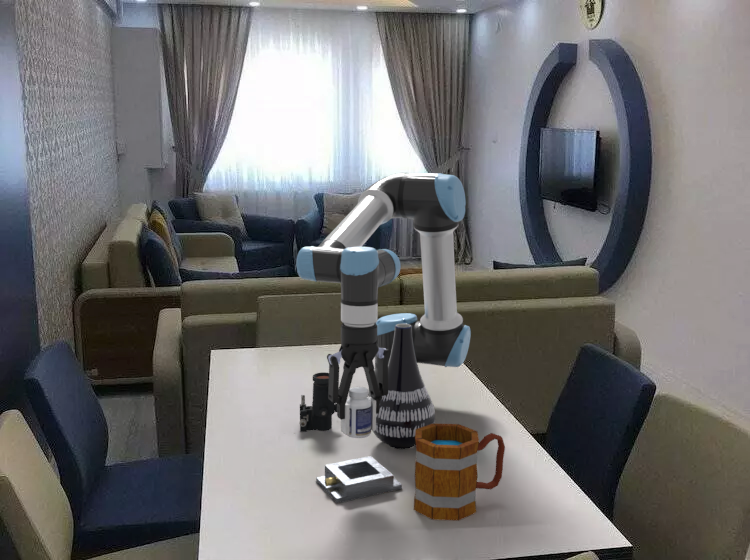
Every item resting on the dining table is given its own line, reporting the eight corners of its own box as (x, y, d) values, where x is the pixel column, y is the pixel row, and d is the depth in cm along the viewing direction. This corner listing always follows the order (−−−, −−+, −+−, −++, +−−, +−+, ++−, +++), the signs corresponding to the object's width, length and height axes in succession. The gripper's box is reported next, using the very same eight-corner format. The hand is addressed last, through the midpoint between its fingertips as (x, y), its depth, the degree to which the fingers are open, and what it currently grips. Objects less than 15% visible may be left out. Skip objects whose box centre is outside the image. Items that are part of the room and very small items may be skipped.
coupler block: (378, 469, 178) (378, 454, 177) (401, 489, 168) (402, 473, 168) (316, 481, 171) (316, 466, 171) (336, 503, 162) (336, 487, 161)
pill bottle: (374, 431, 169) (375, 387, 167) (366, 440, 164) (366, 394, 162) (350, 428, 171) (351, 384, 169) (341, 436, 166) (341, 391, 164)
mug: (426, 525, 153) (427, 452, 150) (401, 495, 165) (402, 426, 163) (517, 511, 159) (520, 440, 156) (487, 482, 172) (489, 416, 169)
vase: (388, 462, 182) (389, 337, 176) (357, 438, 195) (357, 321, 190) (447, 449, 189) (450, 329, 183) (413, 427, 203) (415, 314, 197)
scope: (299, 371, 203) (338, 370, 204) (299, 422, 205) (338, 421, 206) (298, 381, 195) (339, 380, 196) (299, 434, 197) (339, 433, 198)
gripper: (390, 315, 170) (389, 418, 174) (310, 323, 162) (310, 431, 166) (407, 322, 164) (405, 429, 168) (324, 331, 156) (324, 443, 160)
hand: (358, 430), depth 167 cm, fingers closed on pill bottle, 5 cm apart
